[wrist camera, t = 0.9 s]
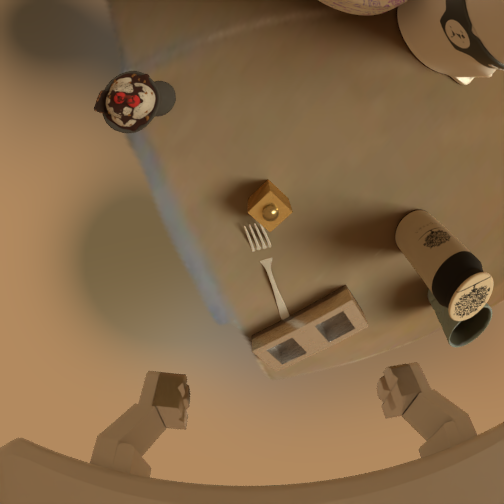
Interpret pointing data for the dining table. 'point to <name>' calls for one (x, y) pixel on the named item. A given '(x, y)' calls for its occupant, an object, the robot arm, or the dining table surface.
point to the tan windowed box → (310, 330)
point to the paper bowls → (363, 6)
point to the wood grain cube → (269, 206)
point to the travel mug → (444, 265)
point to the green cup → (461, 323)
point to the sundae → (134, 101)
